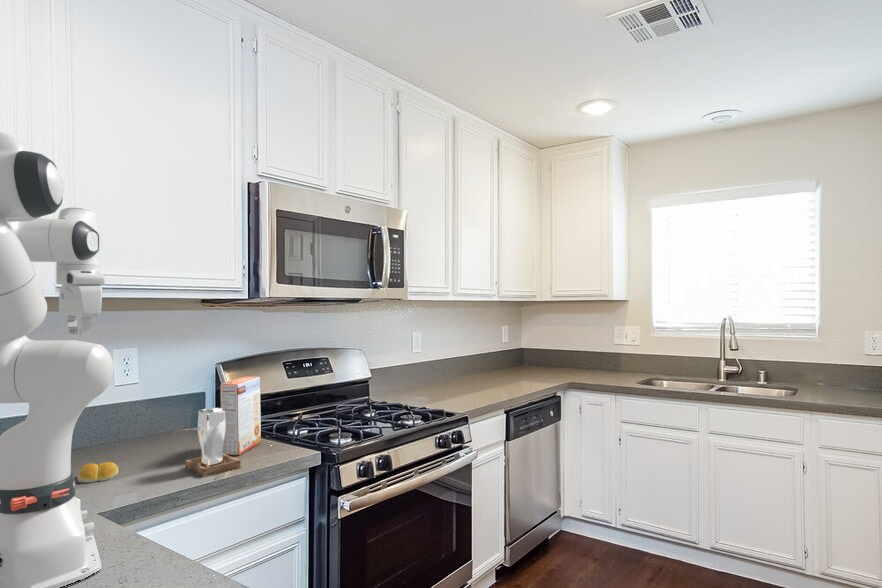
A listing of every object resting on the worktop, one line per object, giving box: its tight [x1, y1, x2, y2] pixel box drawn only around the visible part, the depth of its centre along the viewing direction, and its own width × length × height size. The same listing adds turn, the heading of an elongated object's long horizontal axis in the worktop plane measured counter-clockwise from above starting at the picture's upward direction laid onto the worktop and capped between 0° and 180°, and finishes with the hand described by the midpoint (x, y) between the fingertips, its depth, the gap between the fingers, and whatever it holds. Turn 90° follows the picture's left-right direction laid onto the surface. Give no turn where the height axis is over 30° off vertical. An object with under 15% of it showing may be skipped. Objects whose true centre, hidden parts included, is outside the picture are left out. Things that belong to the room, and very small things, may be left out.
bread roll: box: [76, 461, 119, 484], centre depth 143 cm, size 8×9×4 cm
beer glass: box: [197, 407, 226, 468], centre depth 150 cm, size 7×7×15 cm
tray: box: [184, 453, 242, 477], centre depth 151 cm, size 11×10×2 cm
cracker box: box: [219, 376, 262, 456], centre depth 168 cm, size 14×6×21 cm, turn 171°
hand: (78, 335), depth 134 cm, fingers open, 8 cm apart
